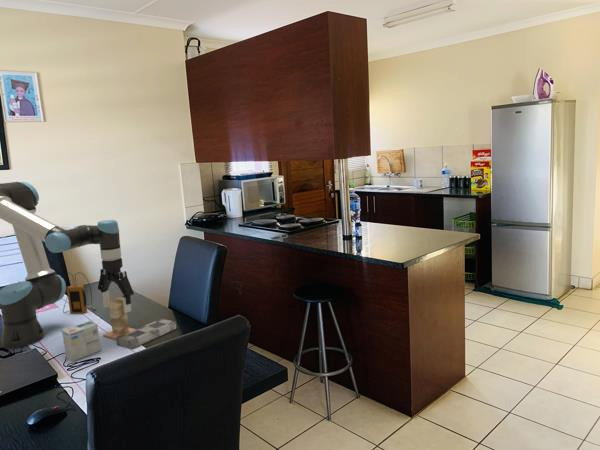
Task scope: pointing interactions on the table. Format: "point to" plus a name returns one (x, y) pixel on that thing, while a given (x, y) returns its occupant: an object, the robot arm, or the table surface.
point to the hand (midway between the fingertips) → (117, 309)
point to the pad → (113, 336)
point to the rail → (145, 333)
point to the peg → (118, 316)
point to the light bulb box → (81, 340)
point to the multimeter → (77, 298)
